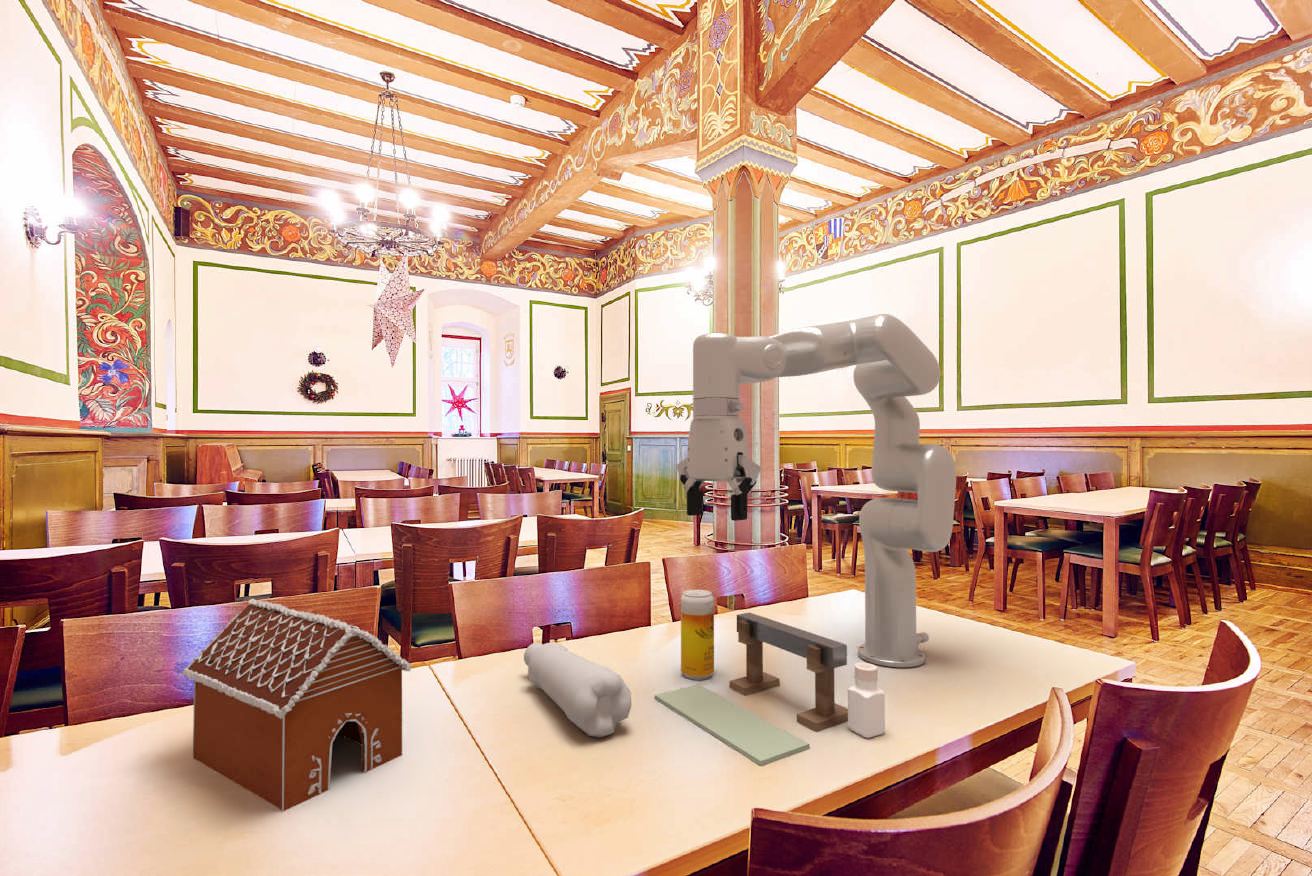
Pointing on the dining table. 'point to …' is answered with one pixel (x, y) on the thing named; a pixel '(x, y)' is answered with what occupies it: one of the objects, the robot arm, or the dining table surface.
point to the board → (733, 724)
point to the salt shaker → (866, 702)
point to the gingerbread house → (293, 700)
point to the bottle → (579, 687)
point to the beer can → (697, 634)
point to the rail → (794, 639)
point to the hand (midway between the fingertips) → (716, 517)
